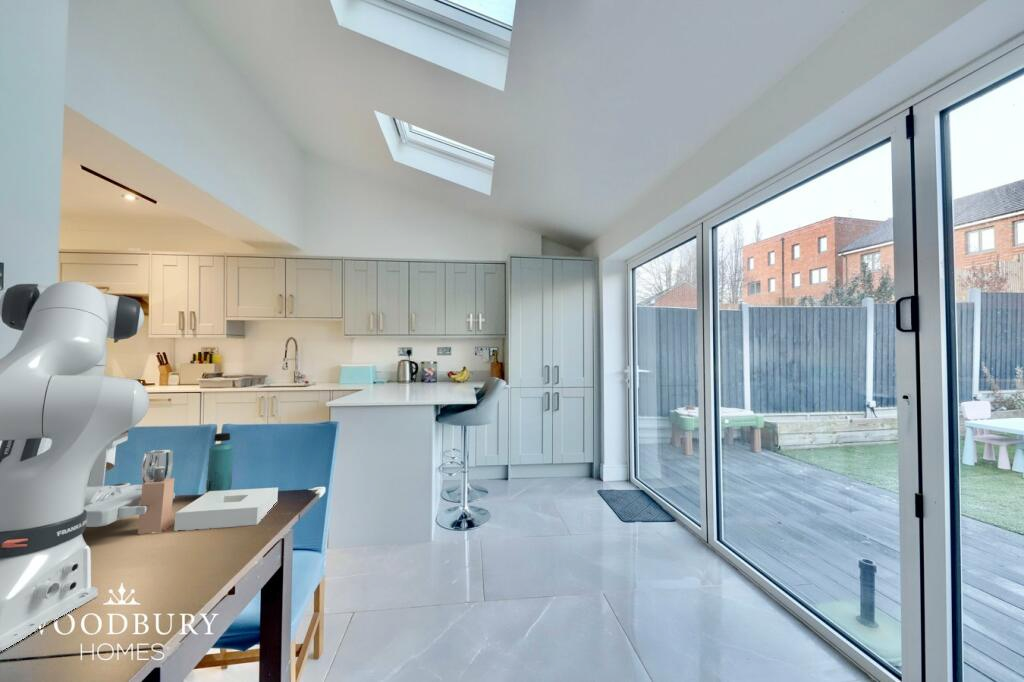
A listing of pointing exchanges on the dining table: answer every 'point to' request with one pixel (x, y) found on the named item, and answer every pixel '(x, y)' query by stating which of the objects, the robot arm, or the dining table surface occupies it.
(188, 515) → the socket
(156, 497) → the plug
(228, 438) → the beverage bottle
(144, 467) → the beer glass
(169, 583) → the dining table surface
